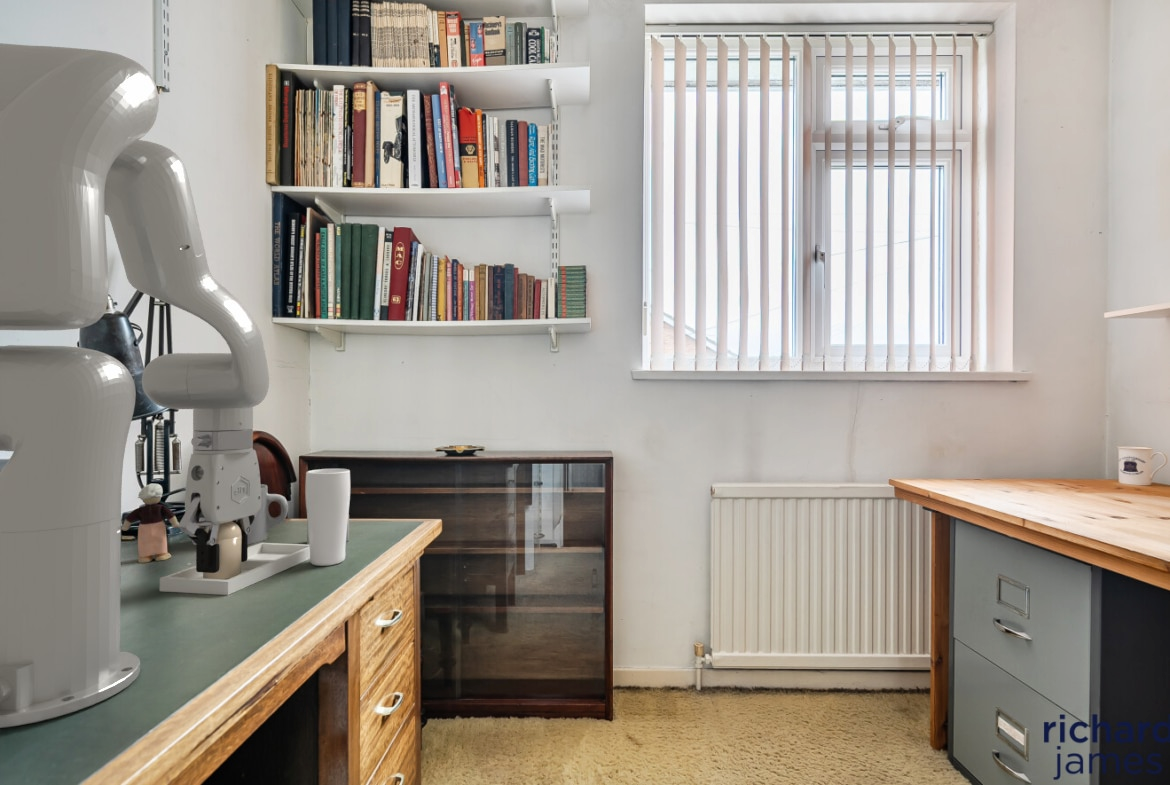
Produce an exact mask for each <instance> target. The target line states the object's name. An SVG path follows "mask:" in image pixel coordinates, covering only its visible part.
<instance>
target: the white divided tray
mask: <svg viewBox="0 0 1170 785" xmlns="http://www.w3.org/2000/svg"><path fill="white" fill-rule="evenodd" d="M308 560H310V545H309V544H307V543H306V544H303V543H300V544H299V543H276V542H258V543H255V544H252V545H250V546H248V557H247V561H244V562H241V574H239V575H237V576H234V577H230V578H225V579H204V578H203V572H197V571H196V565H193V566H191V567H188V568H184V569H181V570H179V571H177V572H174V573H171V574H168V575H165V576H161V577H160V578H159V592H168V593H170V592H171V593H187V594H203V595H221V596H229V595H231V594H234V593H235V592H238V591H241V590H243V589H245V588H247V587H249V586H252V585H254V584H256V583H258V582H260V581H263V580H265V579H267V578H270V577H272V576H274V575H277V574H279V573H281V572H283V571H286V570H288V569H290V568H292V567H294V566H297V565H299V564H301V563H303V562H306V561H308Z"/></svg>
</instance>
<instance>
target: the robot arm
mask: <svg viewBox="0 0 1170 785" xmlns="http://www.w3.org/2000/svg"><path fill="white" fill-rule="evenodd" d="M159 102H160V101H159V91H158V87H157V85H156V82H155V80H154V78H153V76H152V75H151V74H150V72H149V71H148V70H147V69H146V68H145V67H144V66H142V65H141V64H140V63H139V62H137V61H135V60H134V59H131V58H129V57H127V56H124V55H122V54H118V53H117V52H110V51H106V50H105V51H104V50H97V49H88V48H87V49H86V48H75V47H74V48H73V47H64V46H63V47H60V46H48V45H47V46H46V45H28V44H13V43H3V42H1V43H0V331H30V332H31V331H33V332H34V331H45V332H46V331H65V330H66V331H67V330H78V329H83V328H86V327H90V326H91V325H92V326H93V325H94V324H96V323H97V322H98V321H100V320H101V318H102V317H103V316H104V315H105V312H106V310H107V306H108V302H109V270H108V269H109V267H108V250H107V249H108V248H107V232H106V231H107V230H106V217H105V216H108V218H109V221H110V223H111V227H112V231H113V234H114V238H115V241H116V244H117V248H118V251H119V254H120V259H121V260H122V265H123V268H124V271H125V276H126V279H127V280H128V283H129V284H130V285H131V286H132V287H133V289H135V290H137V291H138V292H141V293H143V294H145V295H147V296H149V297H152V298H154V299H156V300H158V301H159V300H160V301H161V302H164V303H166V304H169V305H171V306H174V307H176V308H178V309H179V310H180V309H181V310H182V311H185V312H187V313H189V314H191V315H193V316H195V317H197V318H199V319H201V320H202V321H204V322H205V323H207V324H208V325H209V326H210V327H212V328H213V329H215V330H216V331H217V332H218V334H220V336H221V337H222V338H223V339H224V341H225V342H226V344H227V346H228V348H229V350H230V353H229V352H228V353H227V352H225V353H219V352H217V353H216V352H214V353H213V352H211V353H210V352H203V353H202V352H200V353H199V352H198V353H191V352H190V353H189V352H188V353H187V352H185V353H183V352H181V353H179V352H177V353H176V352H175V353H167V354H162V355H160V356H159V355H158V356H157V357H155V358H153V359H152V360H151V361H149V362H148V363H147V365H146V366H145V368H144V369H143V371H142V376H141V385H142V389H143V392H144V394H145V395H146V397H147V399H149V400H150V401H151V402H152V403H154V404H155V405H158V406H159V407H161V408H165V409H173V410H192V418H193V419H192V430H193V431H192V438H191V442H190V443H191V444H192V453H191V454H190V458H189V459H190V460H189V463H188V468H187V475H186V484H185V494H184V514H183V516H182V518H181V520H180V522H178V523H179V525H178V527H177V528H178V530H180V531H182V532H183V533H184V534H185V535H187V536H188V538H189V539H191V543H192V544H193V545H195V548H196V549H195V550H196V551H195V552H196V553H195V554H196V555H195V558H196V559H195V560H196V562H195V566H196V571H197V572H205V573H215V572H218V571H219V547H220V546H219V544H215V543H216V539H217V534H218V529H219V524H222V523H226V522H230V521H233V522H235V523H236V524H237V525H238V526H239V527H240V529H241V534H242V544H241V562H244V561H247V557H248V547H249V545H248V535H246V534H249V533H250V531H251V527H250V526H251V524H252V523H253V521H254V518H255V516H256V515H257V514H258V512H259V511H260V509H261V474H260V473H261V472H260V465H259V464H260V463H259V461H258V454H257V451H256V449H254V448H253V447H254V430H253V429H254V407H256V406H258V405H260V404H261V403H262V402H264V400H265V398H266V397H267V395H268V392H269V386H270V374H269V366H268V361H267V357H266V356H267V355H266V351H265V346H264V340H263V337H262V334H261V331H260V329H259V326H258V325H257V323H256V321H255V320H254V318H253V316H252V315H251V314H250V312H249V311H248V310H247V309H246V307H245V306H244V305H243V304H242V303H241V302H240V300H239V299H238V298H236V296H235V295H234V294H232V293H231V292H230V291H229V290H228V289H227V288H226V287H224V286H223V285H222V284H221V283H220V282H219V281H217V279H215V278H214V276H213V275H212V273H211V271H210V269H209V268H210V267H209V265H208V264H209V263H208V258H207V254H206V249H205V245H204V241H203V236H202V232H201V229H200V228H201V227H200V224H199V218H198V214H197V209H196V206H195V202H194V196H193V193H192V189H191V185H190V180H189V176H188V172H187V169H186V167H185V164H184V163H183V161H182V159H181V158H180V157H179V155H178V154H177V153H176V152H174V151H173V150H171V149H170V148H168V147H166V146H164V145H162V144H159V143H157V142H153V141H148V140H143V139H142V138H143V137H144V136H146V134H148V133H150V130H151V129H152V128H153V127H154V125H155V122H156V120H157V116H158V112H159ZM141 139H142V140H141ZM136 395H137V393H136V384H135V380H134V379H133V376H132V373H131V372H130V371H129V369H128V368H127V367H126V366H125V364H123V363H122V362H121V361H120V360H118V359H117V358H115V357H114V356H111V355H109V354H108V353H105V352H102V351H99V350H95V349H90V348H85V347H81V346H80V347H79V346H68V345H65V346H63V345H24V344H23V345H22V344H21V345H19V344H17V345H13V344H10V345H0V451H1V452H4V451H5V452H12V455H11V456H10V458H9V459H8V461H7V462H6V464H5V465H4V466H3V467H2V468H1V470H0V729H2V728H3V729H4V728H11V727H19V726H23V725H28V724H33V723H34V724H35V723H39V722H43V721H47V720H51V719H55V718H58V717H61V716H64V715H65V716H66V715H67V714H72V713H74V712H78V711H80V710H82V709H85V708H89V707H91V706H93V705H95V704H98V703H101V702H102V701H105V700H107V699H109V698H110V697H113V696H115V695H117V694H118V693H120V692H122V691H124V689H126V688H127V687H129V686H130V684H132V683H133V682H134V681H135V680H137V678H138V676H140V673H141V672H140V671H141V660H140V657H138V656H137V655H136V654H134V653H131V652H129V651H122V650H121V579H122V578H121V577H122V576H121V572H122V570H121V569H122V568H121V567H122V565H121V564H122V562H121V560H122V558H121V556H122V537H121V536H122V529H121V527H122V489H123V488H122V485H123V484H122V481H123V467H124V459H125V452H126V445H127V441H128V436H129V432H130V428H131V423H132V420H133V415H134V412H135V407H136V406H135V405H136ZM236 520H238V521H236ZM206 521H211V522H206ZM206 526H209V531H208V533H207V532H206Z"/></svg>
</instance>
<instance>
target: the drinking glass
mask: <svg viewBox="0 0 1170 785" xmlns="http://www.w3.org/2000/svg"><path fill="white" fill-rule="evenodd" d="M304 493H305V508H306V520H307V521H308V533H309V544H308V545H310V559H309V563H310V564H312V565H313V566H317V567H323V566H324V567H327V566H329V567H330V566H335V565H337V564H340V563H342V562H344V561H345V559H346V546H347V545H346V544H347V542H346V535H347V524H348V514H349V513H350V501H351V470H350V469H347V468H321V469H320V468H319V469H312V470H308V471H306V472H305V491H304ZM349 515H350V514H349ZM307 521H306V522H307Z"/></svg>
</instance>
